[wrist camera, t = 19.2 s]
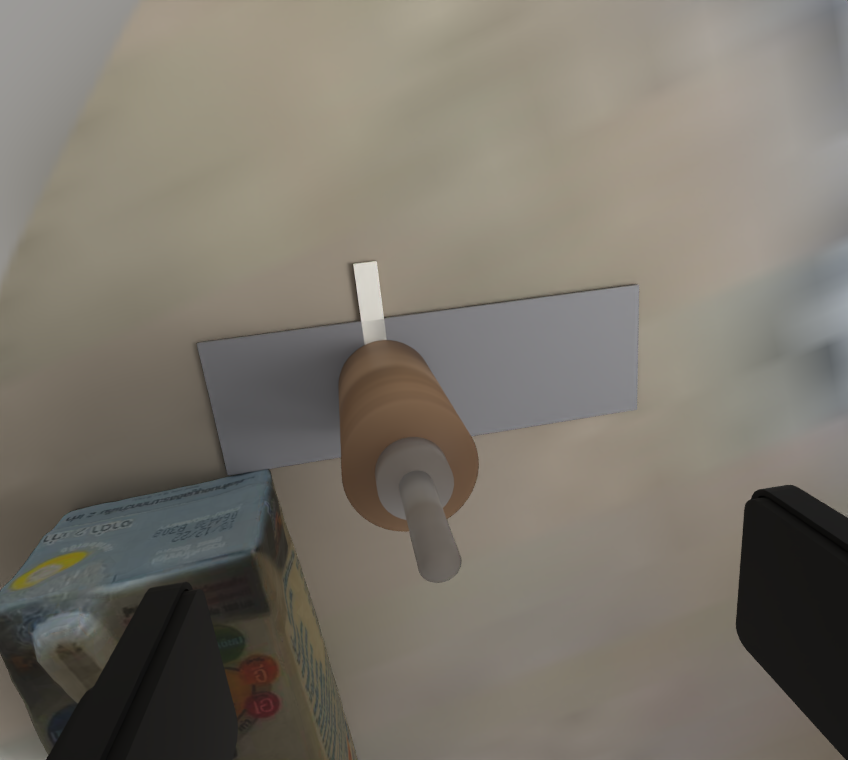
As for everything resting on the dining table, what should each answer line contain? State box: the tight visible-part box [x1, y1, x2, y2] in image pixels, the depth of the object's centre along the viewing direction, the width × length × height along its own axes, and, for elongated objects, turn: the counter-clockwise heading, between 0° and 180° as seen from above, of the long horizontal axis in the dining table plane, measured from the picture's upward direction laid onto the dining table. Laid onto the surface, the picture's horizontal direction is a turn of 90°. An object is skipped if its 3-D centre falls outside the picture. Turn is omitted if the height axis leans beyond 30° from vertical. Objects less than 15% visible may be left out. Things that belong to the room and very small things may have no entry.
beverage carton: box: [0, 469, 357, 760], centre depth 20 cm, size 8×19×7 cm, turn 10°
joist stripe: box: [197, 261, 639, 475], centre depth 21 cm, size 16×9×1 cm, turn 96°
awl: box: [338, 340, 479, 583], centre depth 15 cm, size 3×3×11 cm
